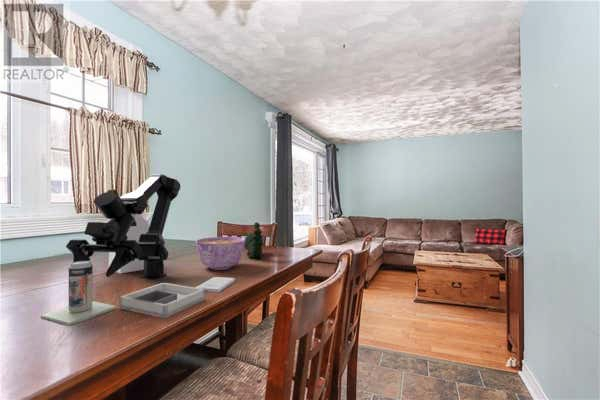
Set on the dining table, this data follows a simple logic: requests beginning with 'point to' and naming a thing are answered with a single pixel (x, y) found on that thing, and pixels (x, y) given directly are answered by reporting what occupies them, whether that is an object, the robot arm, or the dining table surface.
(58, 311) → the sage mat
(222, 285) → the external hard drive
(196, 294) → the shallow light grey tray
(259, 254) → the toy figurine
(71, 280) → the beer can
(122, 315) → the dining table surface
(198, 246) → the bowl of food
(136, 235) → the milk
